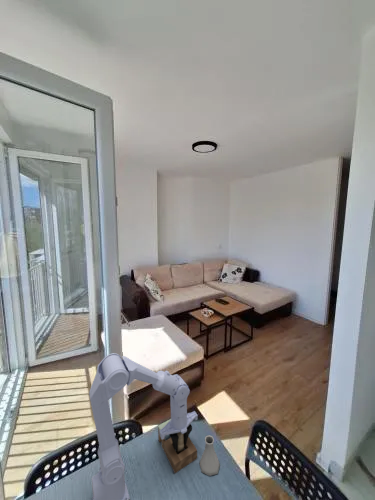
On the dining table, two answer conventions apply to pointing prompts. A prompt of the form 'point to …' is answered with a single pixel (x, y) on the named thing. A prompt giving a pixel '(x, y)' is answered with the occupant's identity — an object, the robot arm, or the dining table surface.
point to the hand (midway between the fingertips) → (179, 444)
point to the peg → (180, 443)
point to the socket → (180, 454)
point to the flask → (209, 458)
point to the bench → (160, 429)
